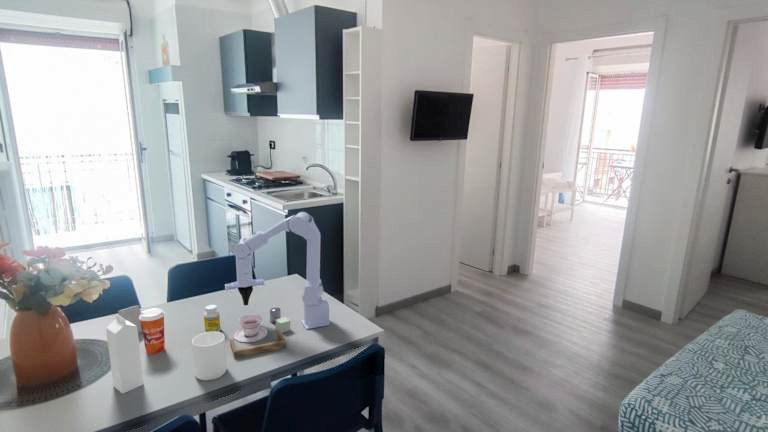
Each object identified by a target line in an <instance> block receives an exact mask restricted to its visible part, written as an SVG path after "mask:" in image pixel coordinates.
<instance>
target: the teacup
mask: <svg viewBox="0 0 768 432" xmlns="http://www.w3.org/2000/svg"><path fill="white" fill-rule="evenodd" d="M238 321H239V324H240V325H241V327H242V328H240V329H239V330H237V331H236V332H235V333H234V334H233V339H234V341H236V342H240V343H245V344H246V343H253V342H258V341H261V340H263V339H264V338H266V336H267V335H268V330H267V329H266V328H264V326H263V327H262V326H260V324H261V322H262V321H263V318H262V317H261V316H260V315H258V314H257V315H256V314H247V315H243V316H241V317H240V318H239V320H238ZM245 335H246V336H247V337H246V336H245Z"/></svg>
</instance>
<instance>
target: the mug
mask: <svg viewBox="0 0 768 432" xmlns="http://www.w3.org/2000/svg"><path fill="white" fill-rule="evenodd" d="M191 346H192V347H191V348H192V360H193V371H194V372H193V373H194V375H195V378H197V379H198V380H201V381H205V382H206V381H213V380H217V379H218V378H220V377H222V376H223V375H225V373H227V372H226V371H227V366H228V365H227V363H228V362H227V350H226V347H227V346H226V335H225V334H224V333H223V332H220V331H218V332H216V331H212V332H206V331H205V332H202V333H199V334H197V335H196V336H194V337H193V338H192V340H191Z"/></svg>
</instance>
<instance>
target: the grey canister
mask: <svg viewBox="0 0 768 432" xmlns="http://www.w3.org/2000/svg"><path fill="white" fill-rule="evenodd" d="M269 316H270V317H269V319H270V320H269V321H270V324H275V325H276V322H275V320H276V319H279V318H282V317H281V316H282V315H281V307H272V308H270V309H269Z"/></svg>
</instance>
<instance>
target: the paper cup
mask: <svg viewBox="0 0 768 432" xmlns="http://www.w3.org/2000/svg"><path fill="white" fill-rule="evenodd" d="M140 312H141V315H140V317H139V319H140V321H141V327H142V332H141V333H142V337H143V341H144V347H145V353H146V354H148V355H157V354H160V353H162V352H163V351H165V346H166V345H165V315H166V312H165V311H164V310H163V309H162V308H160V307H159V308H158V307H154V308H153V307H152V308H148V309H145V310H143V311H140Z"/></svg>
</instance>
